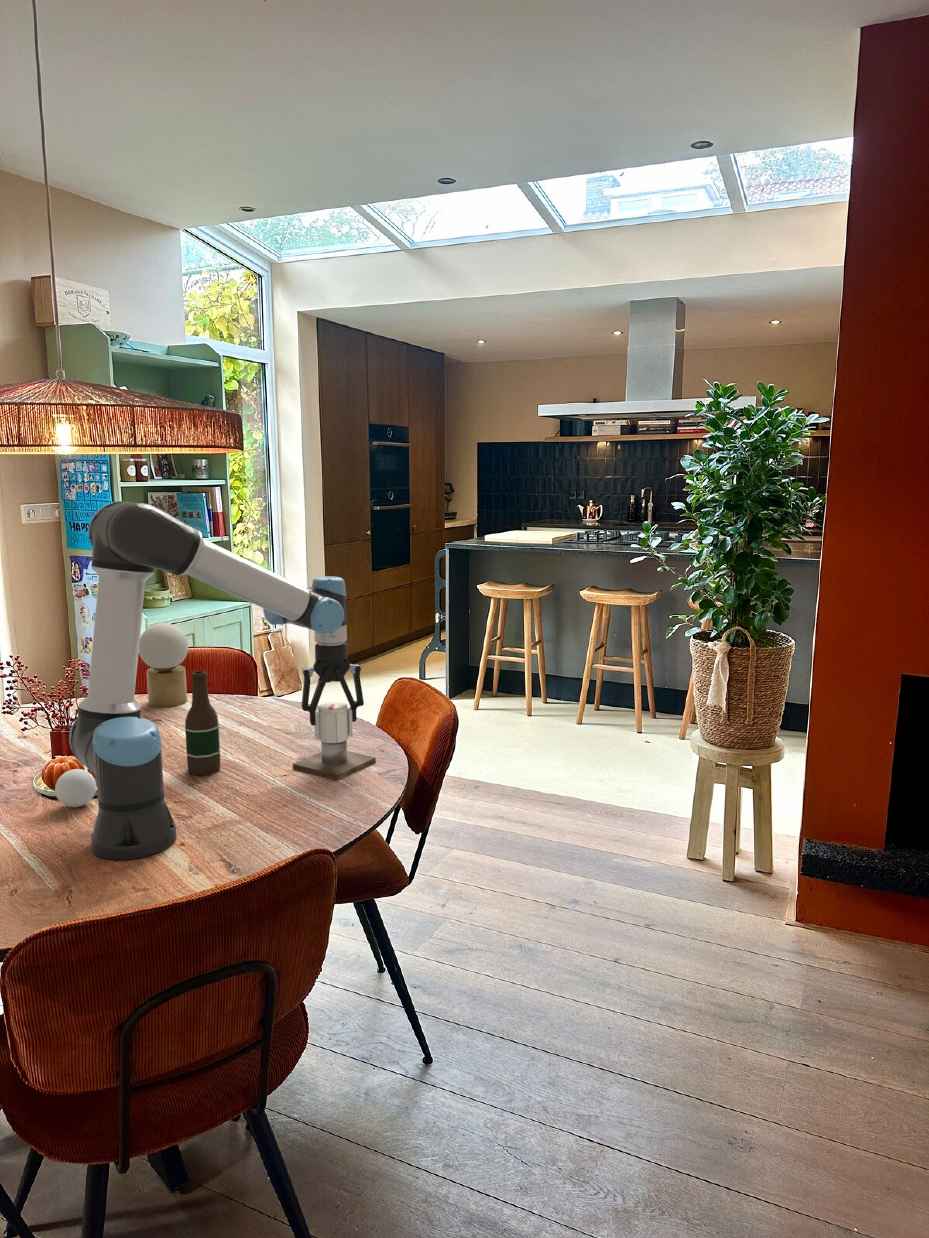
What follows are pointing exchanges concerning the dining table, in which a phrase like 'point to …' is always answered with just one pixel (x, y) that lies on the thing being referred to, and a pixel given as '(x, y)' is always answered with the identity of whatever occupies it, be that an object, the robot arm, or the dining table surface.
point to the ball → (75, 788)
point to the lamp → (164, 664)
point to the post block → (334, 761)
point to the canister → (333, 722)
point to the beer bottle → (202, 730)
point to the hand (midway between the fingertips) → (333, 736)
